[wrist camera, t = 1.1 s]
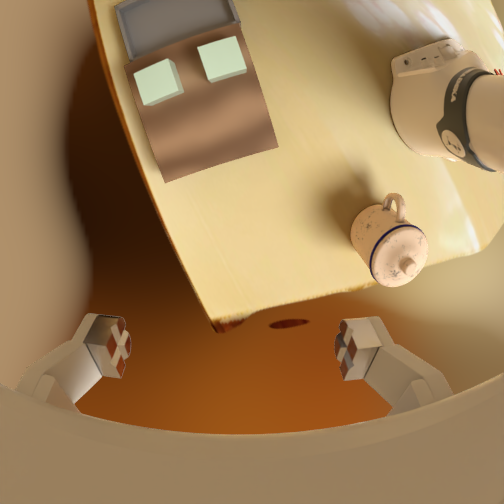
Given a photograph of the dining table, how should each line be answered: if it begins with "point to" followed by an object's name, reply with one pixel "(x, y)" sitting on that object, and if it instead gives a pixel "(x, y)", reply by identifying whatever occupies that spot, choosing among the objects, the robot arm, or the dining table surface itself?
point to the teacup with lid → (389, 242)
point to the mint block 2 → (222, 59)
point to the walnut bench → (204, 110)
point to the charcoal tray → (169, 22)
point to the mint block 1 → (158, 82)
